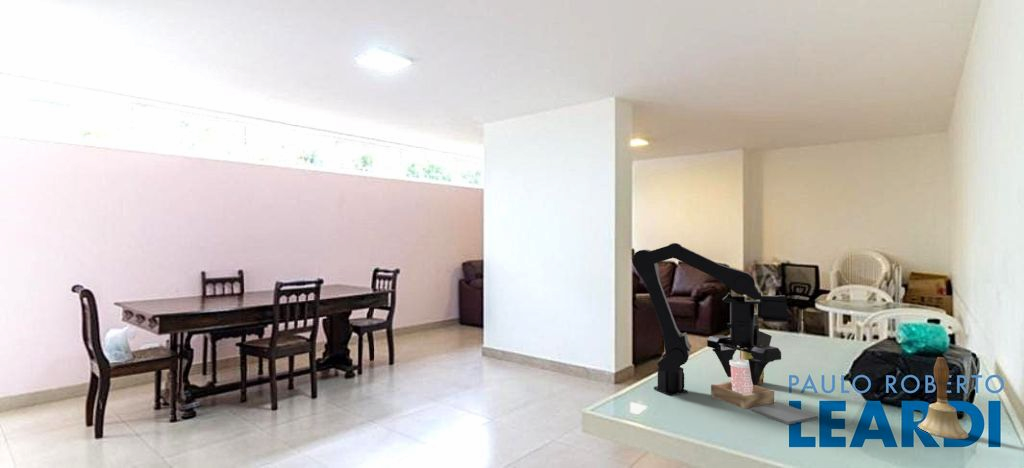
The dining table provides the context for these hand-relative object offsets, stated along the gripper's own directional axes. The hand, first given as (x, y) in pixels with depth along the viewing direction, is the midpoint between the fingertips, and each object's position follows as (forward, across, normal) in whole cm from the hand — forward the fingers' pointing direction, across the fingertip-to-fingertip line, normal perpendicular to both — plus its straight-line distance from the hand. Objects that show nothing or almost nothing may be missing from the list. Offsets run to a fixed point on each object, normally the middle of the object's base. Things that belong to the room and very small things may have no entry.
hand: (742, 380), depth 130 cm
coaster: (+5, -12, 0) cm, 13 cm away
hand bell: (+5, -33, -22) cm, 40 cm away
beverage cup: (+4, 0, 0) cm, 4 cm away
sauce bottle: (+5, +10, -15) cm, 19 cm away
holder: (+5, 0, 0) cm, 5 cm away
